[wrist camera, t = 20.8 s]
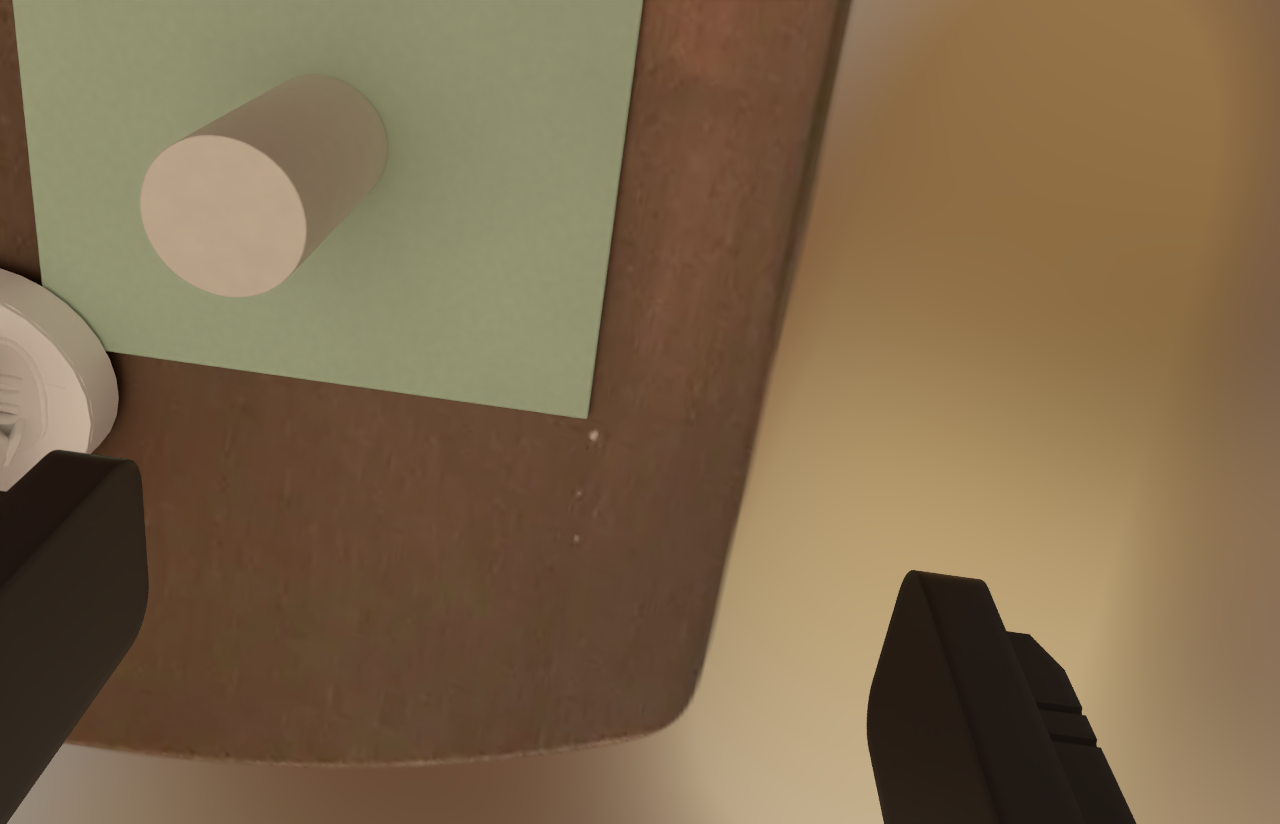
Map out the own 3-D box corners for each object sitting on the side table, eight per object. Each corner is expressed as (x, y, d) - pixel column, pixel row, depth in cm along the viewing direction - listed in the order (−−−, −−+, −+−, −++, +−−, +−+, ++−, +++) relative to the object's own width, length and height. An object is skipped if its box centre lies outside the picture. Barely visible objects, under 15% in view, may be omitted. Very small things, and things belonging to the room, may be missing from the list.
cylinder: (390, 84, 37) (307, 148, 29) (385, 214, 39) (306, 308, 30) (256, 64, 36) (133, 123, 28) (257, 195, 38) (143, 285, 30)
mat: (648, -39, 35) (648, -37, 35) (588, 412, 42) (587, 419, 42) (7, -137, 35) (-3, -138, 34) (55, 337, 42) (47, 343, 41)
